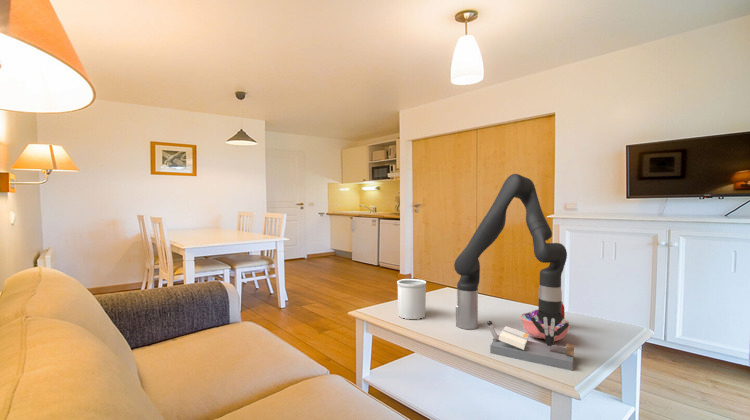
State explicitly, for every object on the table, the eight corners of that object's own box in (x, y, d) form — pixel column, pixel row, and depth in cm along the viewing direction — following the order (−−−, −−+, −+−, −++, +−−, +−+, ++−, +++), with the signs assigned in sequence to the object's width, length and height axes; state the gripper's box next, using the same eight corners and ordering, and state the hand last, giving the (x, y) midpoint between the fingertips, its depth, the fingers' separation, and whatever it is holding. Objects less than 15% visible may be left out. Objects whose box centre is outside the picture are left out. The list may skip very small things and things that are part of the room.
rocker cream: (498, 339, 129) (499, 334, 128) (501, 335, 133) (502, 330, 133) (523, 349, 124) (525, 344, 124) (525, 345, 128) (526, 340, 128)
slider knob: (565, 354, 121) (565, 346, 120) (566, 351, 124) (566, 342, 124) (573, 356, 119) (573, 347, 119) (574, 352, 122) (574, 344, 122)
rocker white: (502, 334, 134) (503, 329, 134) (504, 330, 138) (505, 325, 138) (526, 343, 130) (527, 338, 129) (528, 339, 134) (529, 334, 134)
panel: (489, 352, 130) (489, 344, 130) (496, 342, 140) (496, 334, 140) (573, 370, 116) (573, 361, 116) (574, 357, 126) (574, 348, 126)
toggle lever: (493, 340, 134) (485, 322, 136) (494, 338, 136) (486, 320, 137) (498, 339, 133) (490, 320, 135) (499, 337, 135) (491, 319, 136)
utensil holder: (401, 310, 185) (401, 277, 185) (429, 313, 179) (429, 279, 179) (393, 318, 171) (393, 283, 171) (422, 321, 166) (422, 285, 166)
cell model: (550, 351, 132) (550, 321, 132) (511, 333, 150) (511, 307, 150) (580, 344, 138) (580, 316, 138) (539, 328, 157) (539, 303, 157)
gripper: (571, 298, 124) (570, 345, 125) (531, 293, 132) (531, 338, 132) (570, 303, 118) (569, 353, 118) (528, 297, 125) (528, 344, 125)
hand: (549, 345), depth 125 cm, fingers closed
